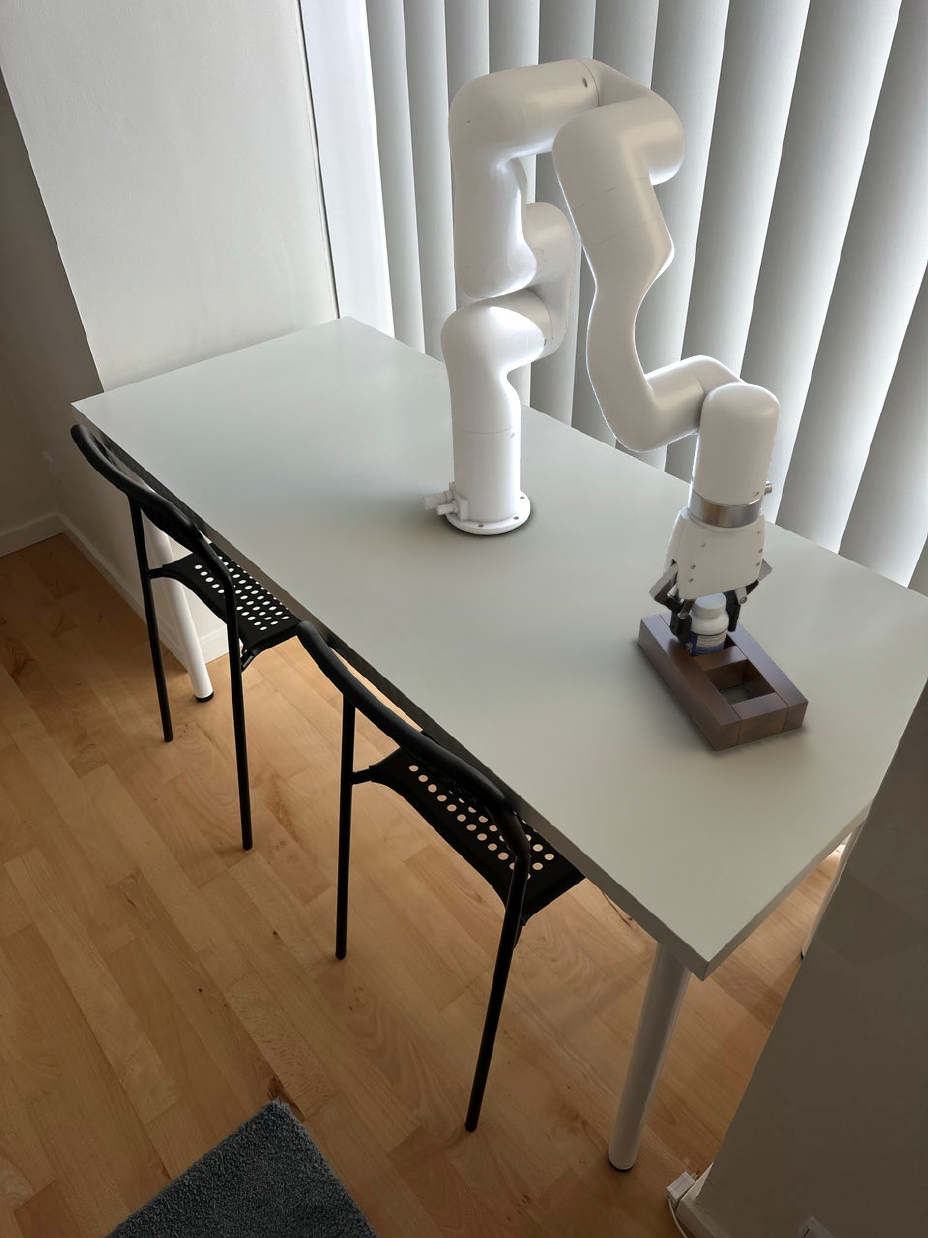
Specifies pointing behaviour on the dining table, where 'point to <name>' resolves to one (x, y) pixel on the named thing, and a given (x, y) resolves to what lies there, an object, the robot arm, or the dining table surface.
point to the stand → (725, 684)
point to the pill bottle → (708, 625)
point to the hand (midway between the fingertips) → (702, 629)
